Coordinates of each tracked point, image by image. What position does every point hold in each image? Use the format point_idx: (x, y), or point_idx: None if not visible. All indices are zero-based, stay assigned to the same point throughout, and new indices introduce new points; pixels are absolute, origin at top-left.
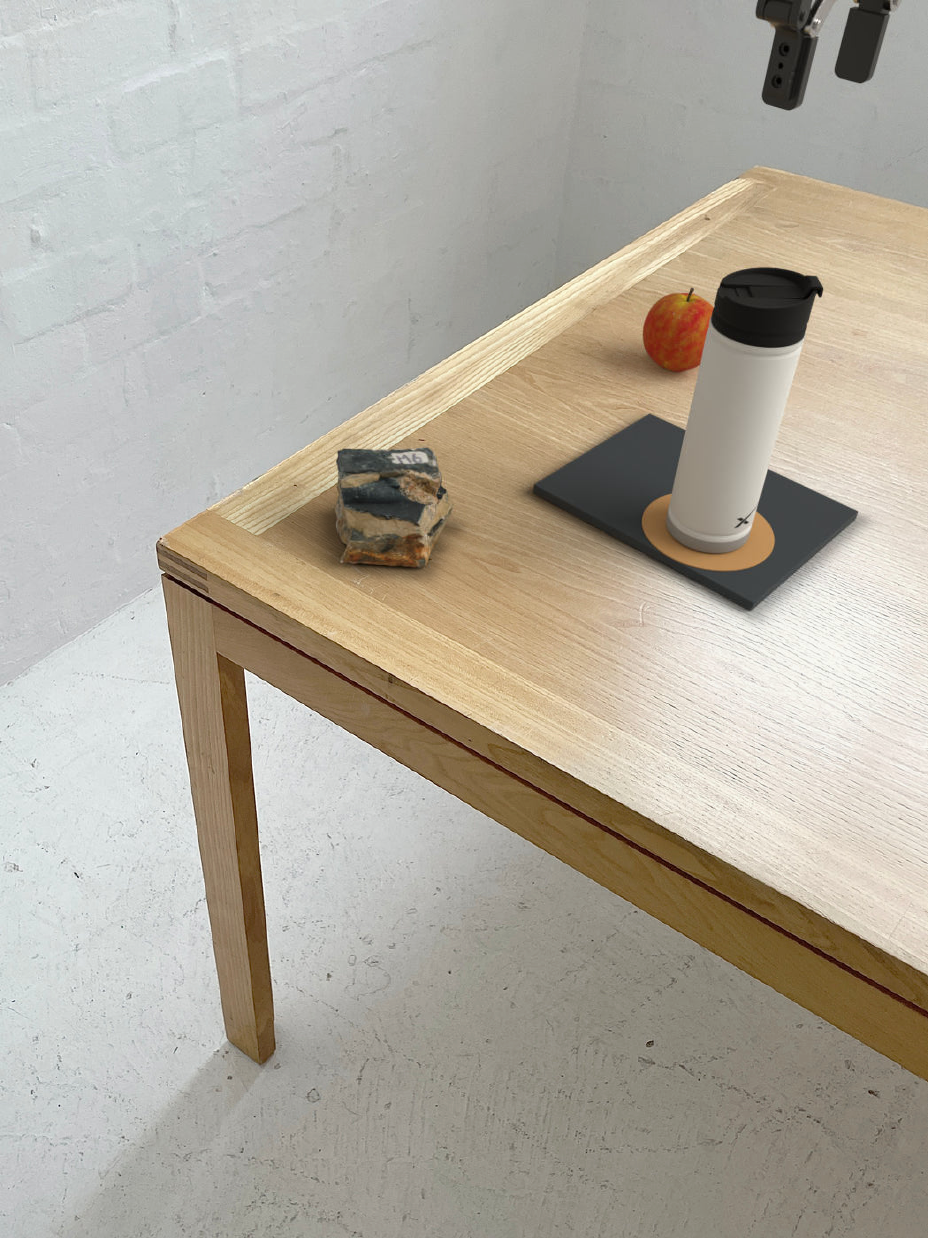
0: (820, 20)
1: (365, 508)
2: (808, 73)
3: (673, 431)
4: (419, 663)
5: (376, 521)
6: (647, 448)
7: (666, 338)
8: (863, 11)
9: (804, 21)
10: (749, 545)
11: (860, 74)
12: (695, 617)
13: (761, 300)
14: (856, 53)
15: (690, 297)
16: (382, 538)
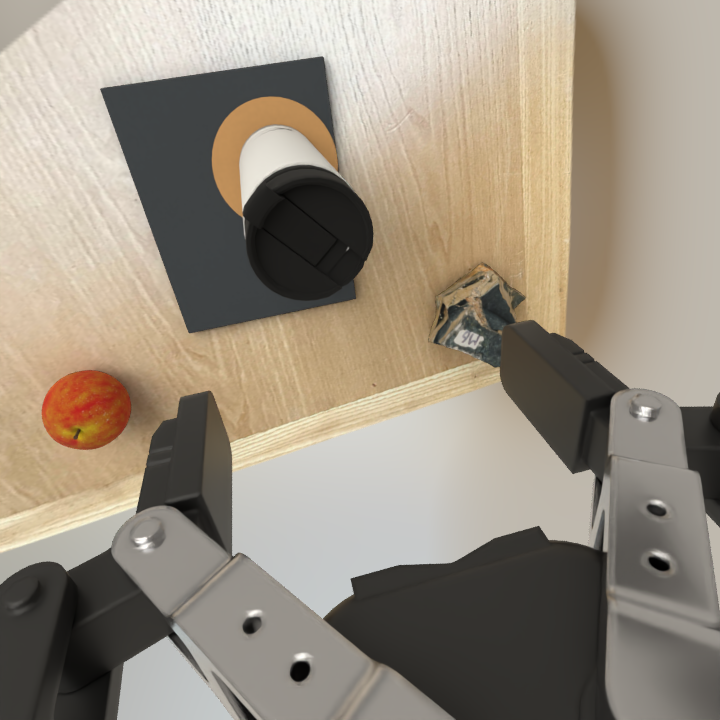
0: (655, 408)
1: (510, 315)
2: (544, 353)
3: (189, 300)
4: (554, 183)
5: (507, 303)
6: (232, 291)
7: (122, 401)
8: (220, 537)
9: None
10: (261, 122)
11: (213, 409)
12: (368, 86)
13: (337, 227)
14: (219, 454)
15: (72, 434)
16: (509, 289)
